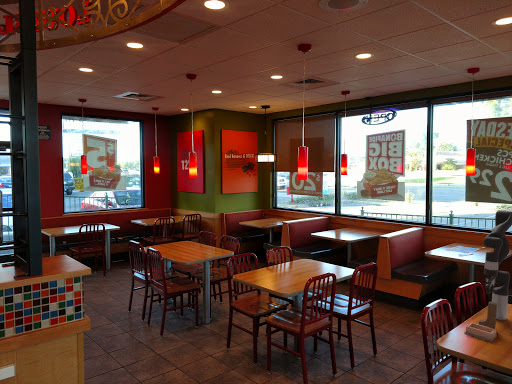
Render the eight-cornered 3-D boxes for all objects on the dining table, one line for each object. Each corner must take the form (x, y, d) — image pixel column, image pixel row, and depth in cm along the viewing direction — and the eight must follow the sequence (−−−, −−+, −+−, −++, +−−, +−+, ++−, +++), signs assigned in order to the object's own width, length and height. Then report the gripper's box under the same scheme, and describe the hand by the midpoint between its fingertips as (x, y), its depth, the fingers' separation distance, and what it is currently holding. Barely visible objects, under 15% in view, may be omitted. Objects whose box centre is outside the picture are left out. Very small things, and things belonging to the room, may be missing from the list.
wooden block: (478, 328, 250) (480, 301, 248) (479, 325, 253) (481, 299, 252) (494, 332, 244) (496, 304, 243) (495, 329, 248) (497, 302, 246)
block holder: (470, 328, 249) (471, 321, 249) (496, 336, 238) (497, 329, 238) (464, 333, 241) (464, 326, 240) (491, 342, 230) (492, 334, 230)
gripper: (487, 265, 253) (486, 289, 255) (481, 268, 243) (479, 293, 245) (500, 267, 248) (499, 291, 249) (494, 271, 238) (492, 296, 239)
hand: (489, 292), depth 247 cm, fingers open, 8 cm apart
